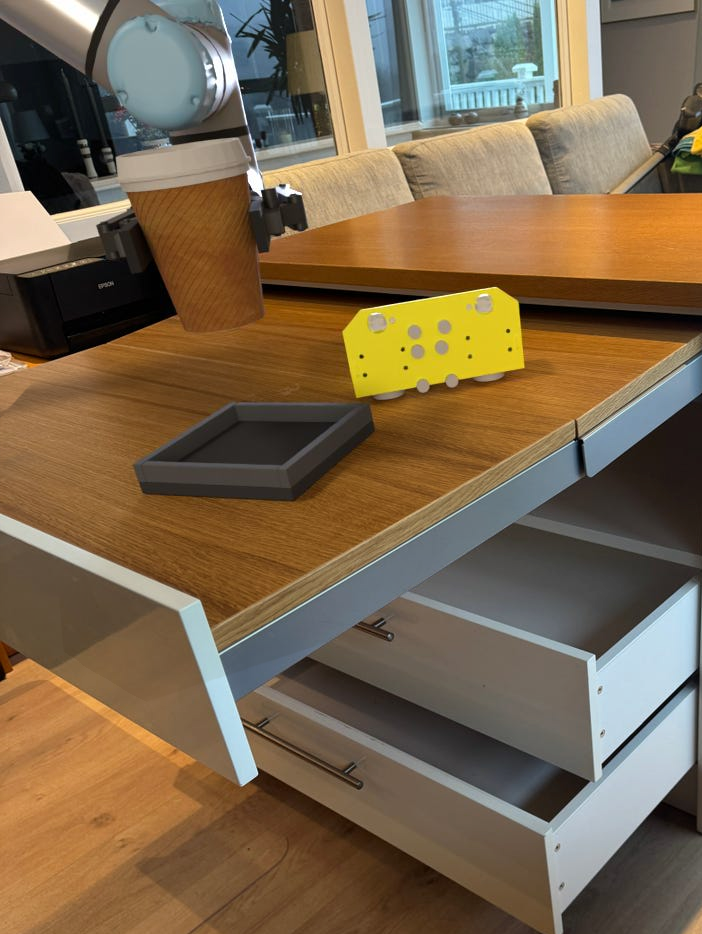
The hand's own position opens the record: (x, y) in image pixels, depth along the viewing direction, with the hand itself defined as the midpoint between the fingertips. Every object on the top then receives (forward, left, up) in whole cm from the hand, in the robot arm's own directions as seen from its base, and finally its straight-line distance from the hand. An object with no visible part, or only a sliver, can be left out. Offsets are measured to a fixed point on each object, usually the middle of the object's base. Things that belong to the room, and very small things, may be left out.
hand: (195, 242), depth 62 cm
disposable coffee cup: (-2, +4, -7) cm, 8 cm away
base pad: (-1, +3, -17) cm, 18 cm away
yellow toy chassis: (+7, +22, -18) cm, 29 cm away
